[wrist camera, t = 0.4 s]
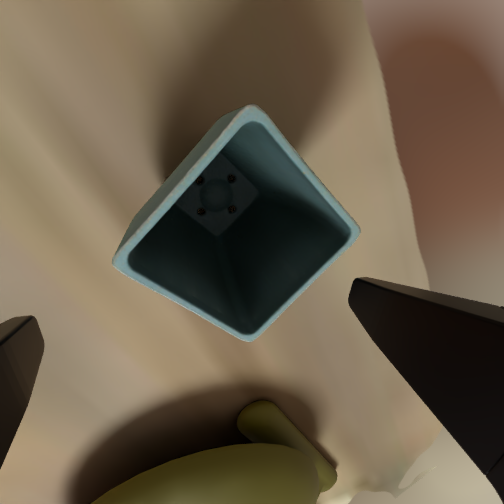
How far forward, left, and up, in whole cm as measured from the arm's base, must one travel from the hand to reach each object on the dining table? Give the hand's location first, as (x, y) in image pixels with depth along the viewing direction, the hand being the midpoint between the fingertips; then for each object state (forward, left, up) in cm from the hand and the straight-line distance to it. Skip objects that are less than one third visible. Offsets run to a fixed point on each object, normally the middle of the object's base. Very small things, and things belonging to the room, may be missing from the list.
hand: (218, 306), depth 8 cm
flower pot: (+1, +2, -14) cm, 14 cm away
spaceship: (+42, -1, -15) cm, 44 cm away
